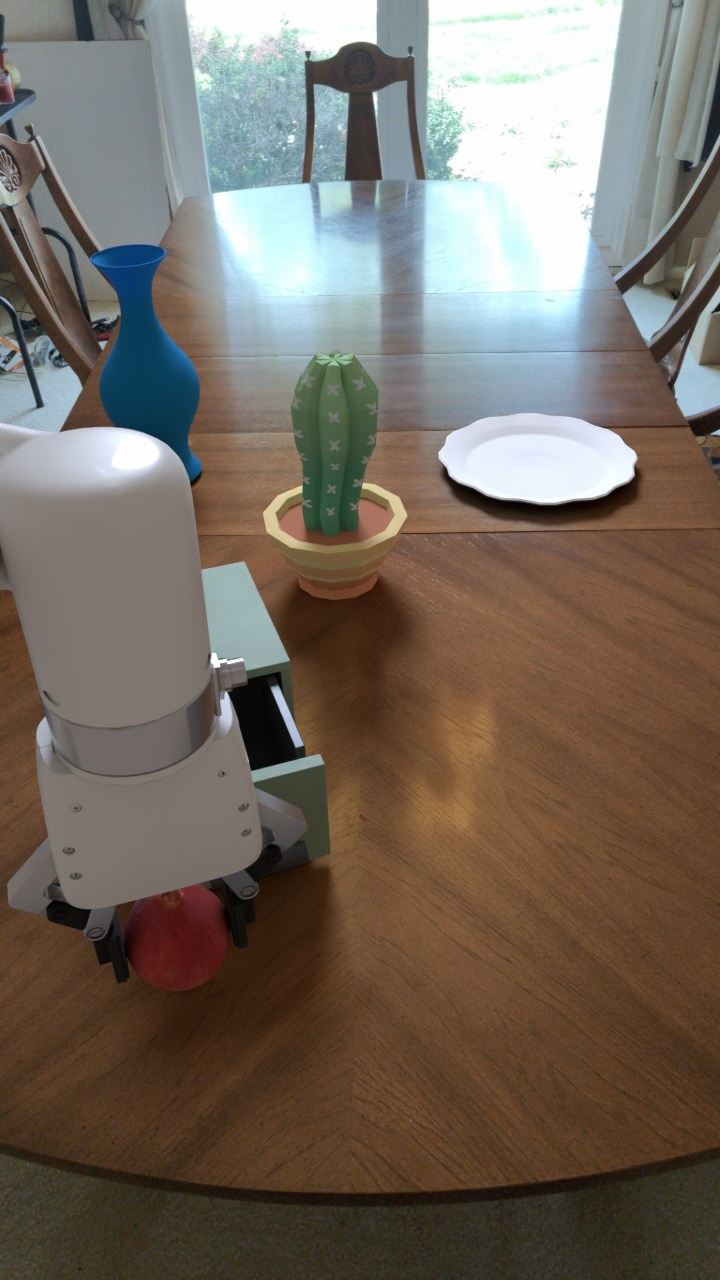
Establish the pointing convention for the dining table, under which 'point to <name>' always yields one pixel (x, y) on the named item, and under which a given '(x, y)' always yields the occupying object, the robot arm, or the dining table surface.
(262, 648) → the cabinet
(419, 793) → the dining table surface
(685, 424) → the dining table surface
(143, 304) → the vase
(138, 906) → the onion
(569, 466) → the plate
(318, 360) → the potted cactus
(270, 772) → the drawer
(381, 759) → the dining table surface
